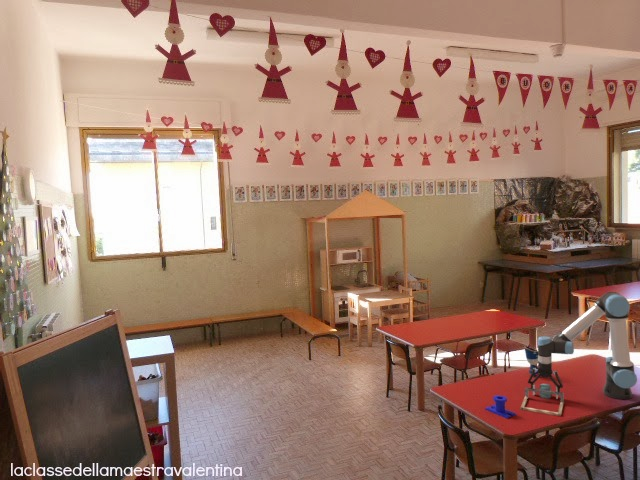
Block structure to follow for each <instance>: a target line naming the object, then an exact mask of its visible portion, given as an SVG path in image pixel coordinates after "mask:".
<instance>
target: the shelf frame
mask: <svg viewBox="0 0 640 480" xmlns="http://www.w3.org/2000/svg"><path fill="white" fill-rule="evenodd" d="M527 399H528V400H529V396H528V397H527V396H525V395H524V398H523V400H522V403H521V405H520V410H522V411H527V412H534V413H540V414H545V415H552V416H557V417H561V416H562V413H563V408H564V404H565V402H564V403H563V402H561V401H560V403H559V407H558V411H557V412H556V411H552V410H551V411H550V410H545V409H538V408H533V407H526V405H527V401H528V400H527Z"/></svg>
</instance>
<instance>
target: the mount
mask: <svg viewBox="0 0 640 480" xmlns="http://www.w3.org/2000/svg"><path fill="white" fill-rule="evenodd" d="M492 397H493V398H492V400H493V401H494V404H492V405H490V406H486V407H485V409H484V410H485V411H487V410H488V411H487V412H490V413H493V414H495V415H498V416H500V417H501V418H505V419H511V417H514V416H515V417H516V416H517V413H516V412H513V411H510V410H508V409H506V403H507V402H508V398H507V397H506V396H504V395H497V394H496V395H493V396H492Z"/></svg>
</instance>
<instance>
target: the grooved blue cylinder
mask: <svg viewBox="0 0 640 480" xmlns="http://www.w3.org/2000/svg"><path fill="white" fill-rule="evenodd" d="M539 389H540V390H547V391H552V386H551V384H548V383H541V384H539ZM539 396H540V398H542V399H548V400H549V399H551V398H552V394H548V393H541V392H539Z"/></svg>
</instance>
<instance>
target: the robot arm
mask: <svg viewBox="0 0 640 480" xmlns="http://www.w3.org/2000/svg"><path fill="white" fill-rule="evenodd" d="M630 310H631V306H630V302H629V300H628V299H627V298H626V297H625V296H623V295H622V294H620V293H619V292H616V291H607V292H605V293H603V294H602V295H601V296H599V297H598V298H597V299H596V300H595V301H594V302H593V305H592V306H591V307H589V308H588V309H587V310H586V311H585V312H584V313H582V314H581V315H580V316H579V317H578V318H577V319H576V320H574V321H573V322H572V323H571V324H570V325H568V326H567V327H566V328H565V329H563V331H561V332H560V333H557V334H555V335H554V336H553V338H551V337H550V336H546V335H545V336H544V335H543V336H539V337H538V338H537V351H538V361H539V362H538V364H537V365H538V366H537V367H538V369H535V368H533V372H532V374H531V373H530V374H531V375H530V377H529V379H528V381H527V383H528V384H530V388H533V389H536V384H535V383H536V382H537V381H538V380H539V379H540V378H546V379H547V378H549V379H550V380H551V381H552V383H553V384H554V386H556V387H555V392H561V389H563V388H564V384H563V383H562V380H561V378H560V376H559V373H558V371H557V370H553V369H552V368H553V367H552V366H553V363H552V357H553V355H552V354H560V355H574V353H575V352H574V351H575V348H574V342H572V341H573V340H575V339H576V338H577V337H578V336H579V335H581V334H582V333H583V332H584V331H586V330H587V329H588V328H589V327H591V326H592V325H593V324H594V323H596V322H597V321H598V320H599V319H601V317H603V316H605V318H606V319H607V320H608V325H609V334H610V344H611V352H612V353H611V354H612V356H608V357H606V359H605V360H606V361H605V369H606V370H605V371H606V372H605V373H606V376H605V378H606V380H605V383H604V385H603V388H602V393H603V395H604V396H606V397H609V398H613V399H615V400H616V399H617V400H629V399H630V400H631V399H632V398H633V391H632V389H631V388H632V387H634V386H635V385H636V384H637V383H638V377H637V374H636V373H635V372H636V371H635V364H634V362H633V361H632V360H631V356H630V345H629V344H630V343H629V335H628V327H627V320H628V319H629V318H630V314H629V312H630ZM537 371H538V373H539V374H537V375H536V376H535V378H534V379H533V377H534V376H533V375H534V373H536V372H537ZM553 375H554V376H555V377H553ZM555 378H556V379H555ZM535 395H536V392H534V391H532V396H535ZM558 398H559V395H555V399H556V400H558Z"/></svg>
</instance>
